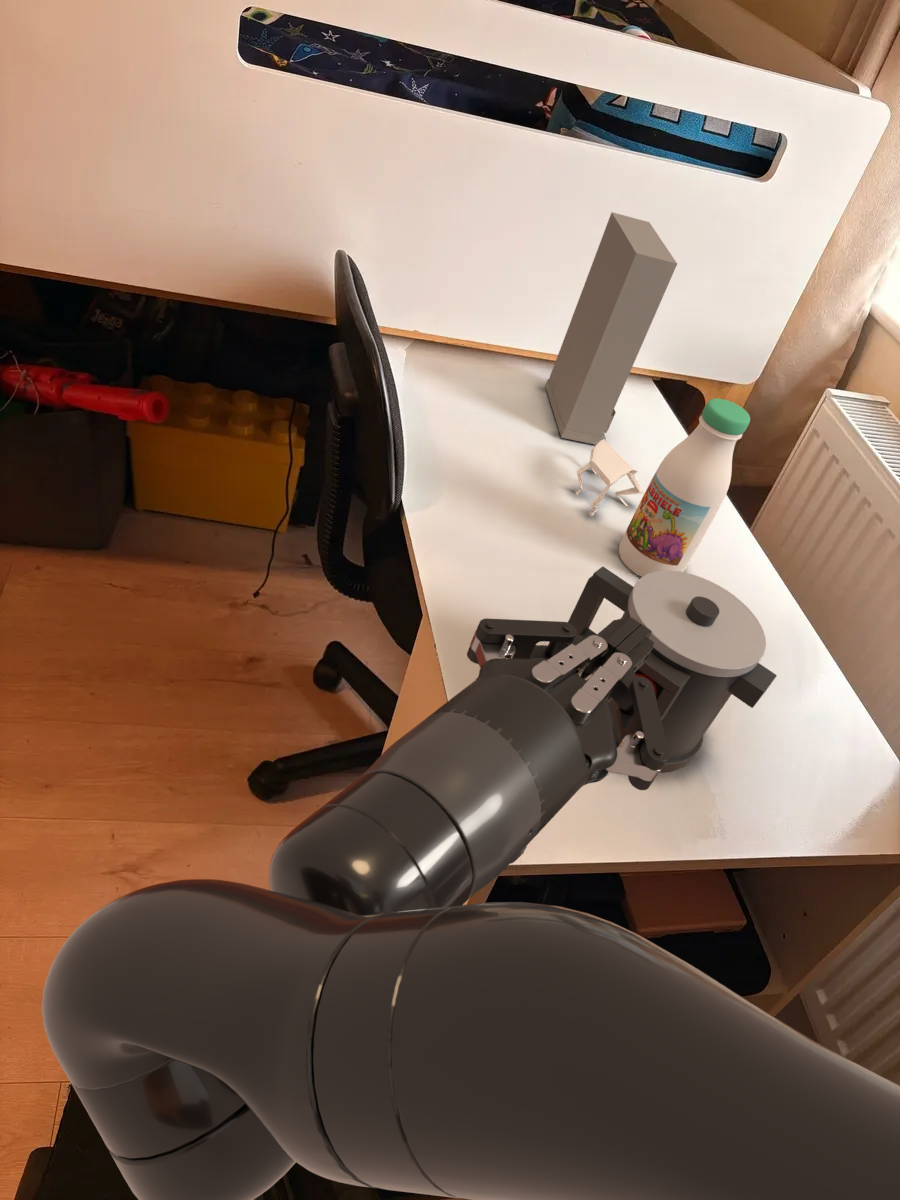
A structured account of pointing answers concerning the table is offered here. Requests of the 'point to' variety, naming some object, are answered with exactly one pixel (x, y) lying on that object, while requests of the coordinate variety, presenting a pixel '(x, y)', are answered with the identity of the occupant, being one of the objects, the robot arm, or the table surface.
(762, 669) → the kettle jug
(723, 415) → the milk bottle
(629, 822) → the table surface
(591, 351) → the tall grey pillar
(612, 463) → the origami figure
